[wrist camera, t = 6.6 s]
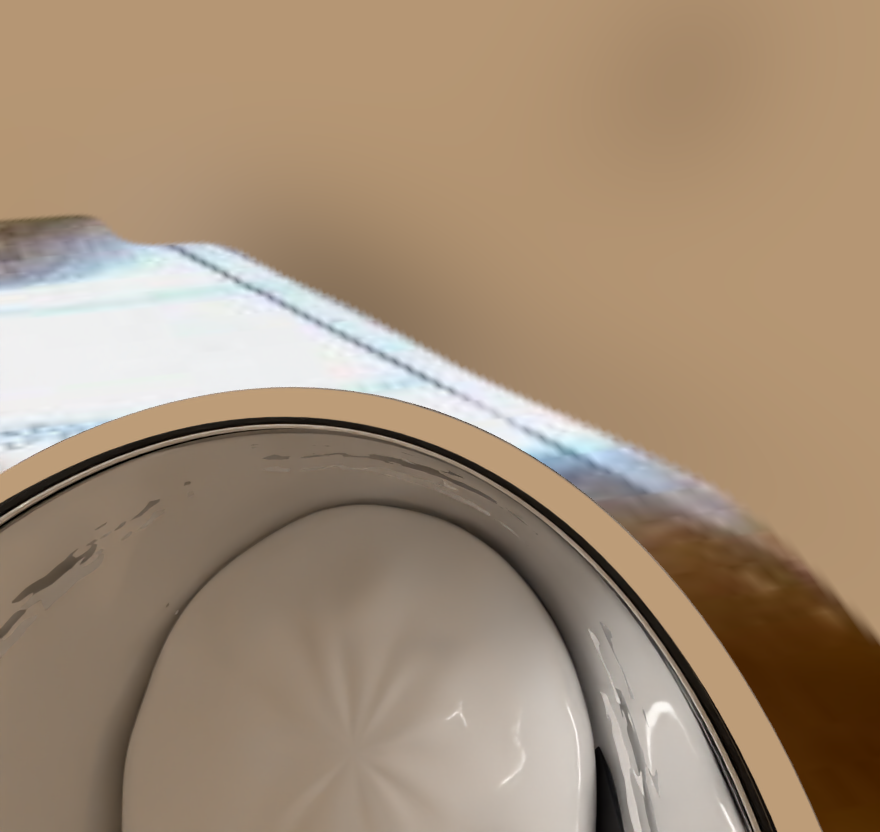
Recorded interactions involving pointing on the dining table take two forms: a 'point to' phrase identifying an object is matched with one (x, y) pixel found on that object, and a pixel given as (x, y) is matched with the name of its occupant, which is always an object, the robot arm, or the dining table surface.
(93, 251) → the dining table surface
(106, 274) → the dining table surface
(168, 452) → the beer glass
